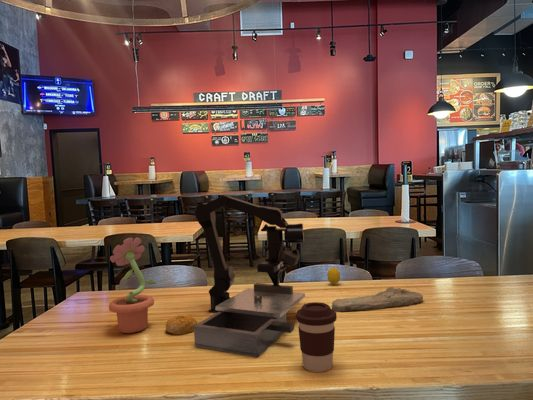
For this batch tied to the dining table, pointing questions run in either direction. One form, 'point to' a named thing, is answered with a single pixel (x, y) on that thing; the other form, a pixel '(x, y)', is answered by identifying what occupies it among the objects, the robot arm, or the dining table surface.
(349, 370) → the dining table surface
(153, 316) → the dining table surface
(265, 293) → the lid
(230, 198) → the robot arm
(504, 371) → the dining table surface
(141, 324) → the decorative flower
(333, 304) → the elongated rock
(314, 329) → the coffee cup
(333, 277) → the lemon
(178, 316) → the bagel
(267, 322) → the grey metal box
